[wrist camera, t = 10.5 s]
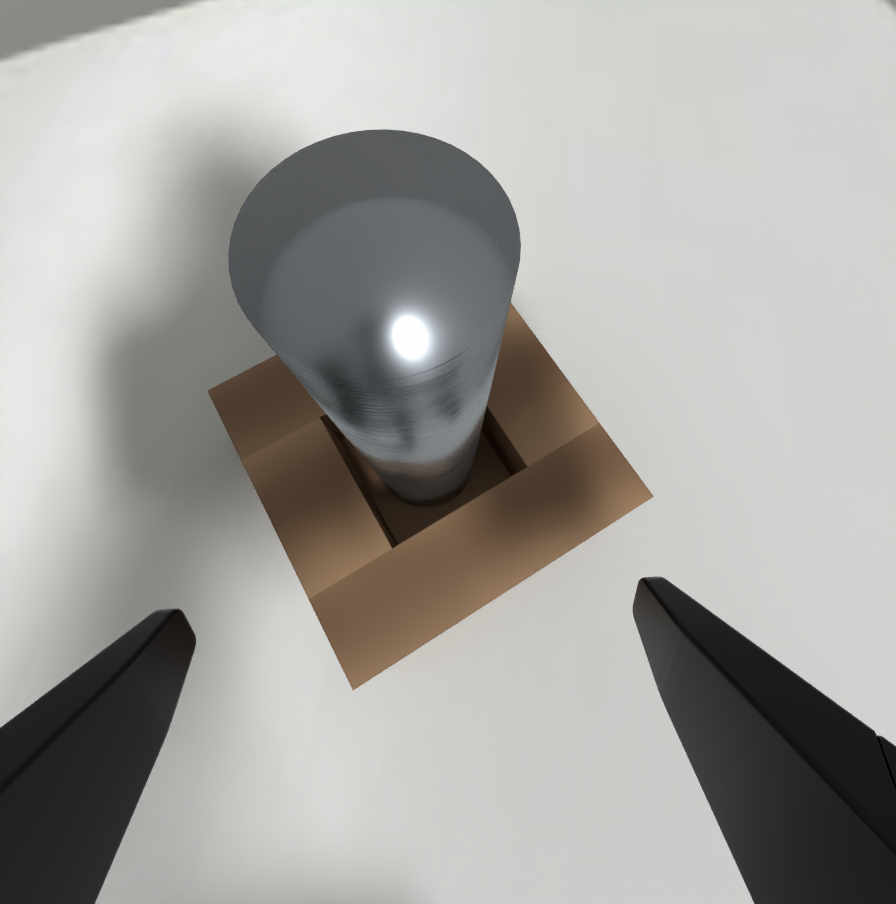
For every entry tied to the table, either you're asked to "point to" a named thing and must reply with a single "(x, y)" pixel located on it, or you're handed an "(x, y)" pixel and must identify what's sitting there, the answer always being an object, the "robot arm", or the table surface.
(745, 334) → the table surface
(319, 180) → the steel pin
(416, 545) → the walnut bore block
